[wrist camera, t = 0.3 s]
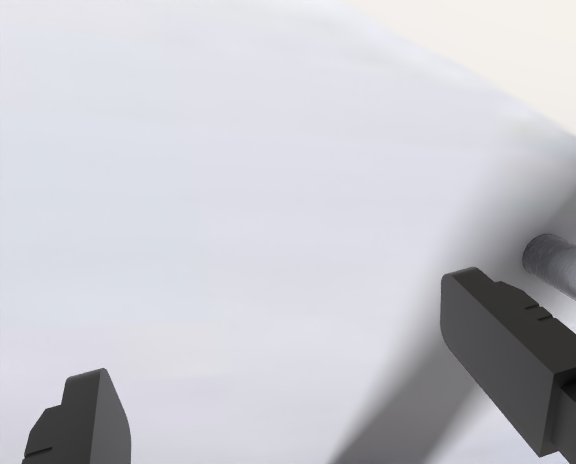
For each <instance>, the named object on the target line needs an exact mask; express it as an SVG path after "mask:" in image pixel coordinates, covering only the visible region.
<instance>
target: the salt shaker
mask: <svg viewBox="0 0 576 464" xmlns="http://www.w3.org/2000/svg"><path fill="white" fill-rule="evenodd" d="M523 265H524V267H525V269H526V270H527V271H528V272H529V273H531V274H532V275H534V276H536V277H537V278H539V279H541V280H542V281H544V282H546V283H547V284H549V285H551V286H552V287H554V288H556V289H557V290H559V291H561V292H562V293H564V294H566V295H567V296H569V297H571V298H572V299H574V300H576V246H575V245H573V244H571V243H569V242H567V241H565V240H562V239H560V238H558V237H556V236H554V235H551V234H544V235H540V236H538V237H536V238H535V239H533V240H532V241H531V242H530V243H529V245H528V246H527V247H526V249H525V252H524V255H523Z"/></svg>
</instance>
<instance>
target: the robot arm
mask: <svg viewBox="0 0 576 464" xmlns="http://www.w3.org/2000/svg"><path fill="white" fill-rule="evenodd" d="M440 326H441V332H442V335H443V338H444V340H445V343H446V344H447V346H448V348H449V349H450V350H451V352H452V353H453V354H454V355H455V356H456V358H457V359H458V360H459V361H460V362H461V364H462V365H463V366H464V367H465V369H466V370H467V371H468V372H469V373H470V375H471V376H472V377H473V378H474V379H475V381H476V382H477V383H478V384H479V385H480V387H481V388H482V389H483V390H484V391H485V393H486V394H487V395H488V396H489V398H490V399H491V400H492V401H493V402H494V404H495V405H496V406H497V407H498V408H499V410H500V411H501V412H502V413H503V414H504V416H505V417H506V418H507V419H508V420H509V422H510V423H511V424H512V425H513V426H514V428H515V429H516V430H517V431H518V433H519V434H520V435H521V436H522V437H523V439H524V440H525V441H526V442H527V443H528V445H529V446H530V447H531V448H532V449H533V451H534V452H535V453H536V454H537V455H538V457H539V458H540V457H543V456H546V455H549V454H552V453H554V452H557V451H559V452H560V453H561V454H562V455H563V456H564V457H565V458H566V460H567V461H568V462H569V463H570V464H576V334H575V333H574V332H573V331H571V330H570V329H569V328H568V327H566V326H565V325H564V324H563V323H562V322H560V321H559V320H558V319H557V318H553V317H552V314H551V313H549V312H548V311H547V310H546V309H544V308H543V307H540V306H539V304H538V303H537V302H536V301H535V300H533V299H532V298H531V297H530V296H528V295H527V294H526V293H525V292H524V291H522V290H520V289H518V288H515V287H513V286H511V285H508V284H506V283H504V282H502V281H499V282H496V283H494V282H493V281H492V280H491V279H490V278H489V277H488V276H486V275H485V274H484V273H483V272H482V271H481V270H479V269H478V268H476V267H470V268H467V269H463V270H459V271H456V272H452V273H448V274H445V275H444V276H443V277H442V280H441V314H440ZM24 456H25V459H23V461H22V464H131V435H130V428H129V424H128V420H127V417H126V414H125V412H124V409H123V407H122V404H121V402H120V400H119V397H118V395H117V392H116V390H115V388H114V385H113V383H112V381H111V378H110V376H109V374H108V372H107V370H106V369H105V368H101V369H97V370H94V371H90V372H86V373H83V374H79V375H75V376H71V377H69V378H67V380H66V383H65V388H64V393H63V398H62V403H61V405H58V406H55V407H51V408H47V409H45V411H44V412H43V414H42V415H41V417H40V418H39V419H38V421H37V422H36V424H35V425H34V427H33V428H32V430H31V431H30V434H29V438H28V442H27V445H26V449H25V453H24Z"/></svg>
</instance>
